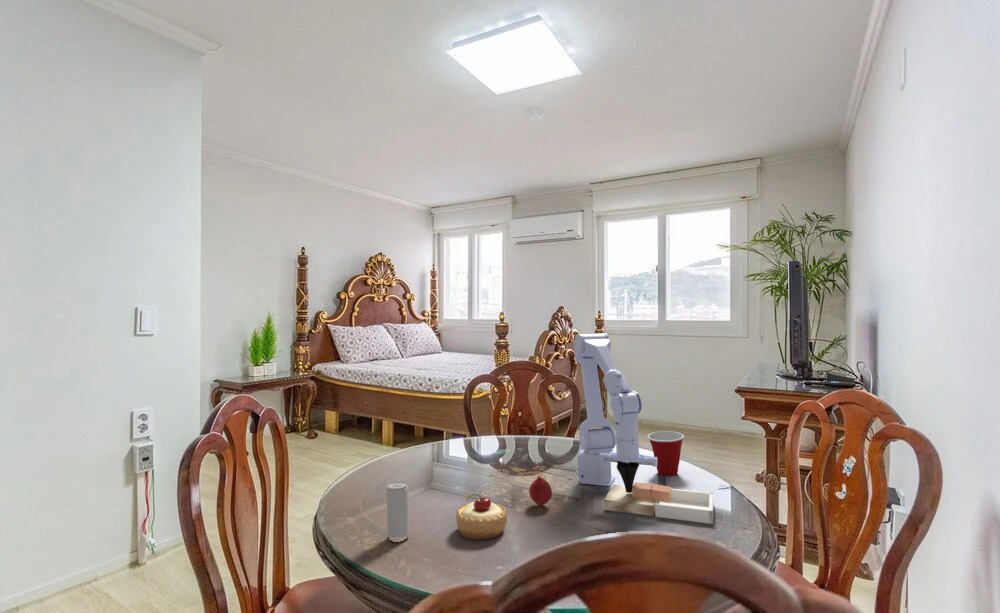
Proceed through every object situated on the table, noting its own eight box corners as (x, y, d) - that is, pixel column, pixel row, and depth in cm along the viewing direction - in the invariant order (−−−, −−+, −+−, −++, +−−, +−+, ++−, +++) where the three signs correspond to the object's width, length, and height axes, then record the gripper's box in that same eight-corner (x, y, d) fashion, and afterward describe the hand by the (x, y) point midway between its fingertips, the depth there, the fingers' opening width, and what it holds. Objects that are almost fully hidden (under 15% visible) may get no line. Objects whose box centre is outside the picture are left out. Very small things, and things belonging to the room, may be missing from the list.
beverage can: (389, 534, 112) (388, 482, 112) (410, 533, 112) (409, 481, 113) (386, 544, 107) (385, 489, 107) (408, 542, 107) (407, 487, 108)
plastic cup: (641, 471, 153) (639, 432, 153) (669, 466, 157) (667, 429, 157) (664, 481, 143) (662, 440, 143) (693, 476, 147) (691, 436, 147)
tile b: (650, 499, 122) (651, 489, 122) (652, 493, 126) (653, 483, 126) (669, 502, 120) (670, 492, 120) (671, 496, 124) (671, 487, 124)
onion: (554, 503, 128) (553, 472, 128) (549, 511, 123) (548, 479, 123) (533, 501, 130) (532, 471, 130) (527, 509, 125) (526, 477, 125)
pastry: (512, 541, 108) (512, 501, 108) (459, 547, 105) (459, 506, 105) (500, 518, 120) (500, 482, 120) (453, 523, 117) (453, 486, 117)
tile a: (632, 497, 124) (632, 487, 124) (635, 491, 128) (634, 482, 128) (650, 499, 122) (650, 489, 122) (652, 493, 126) (652, 484, 126)
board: (604, 509, 123) (604, 499, 123) (613, 493, 134) (613, 484, 134) (654, 516, 118) (653, 505, 118) (659, 499, 129) (658, 489, 129)
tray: (655, 516, 117) (655, 504, 117) (660, 498, 129) (660, 487, 129) (713, 524, 112) (712, 511, 112) (713, 504, 124) (712, 492, 124)
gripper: (596, 440, 126) (598, 493, 125) (654, 444, 120) (656, 500, 119) (602, 434, 132) (603, 484, 132) (657, 438, 126) (659, 490, 126)
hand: (629, 491), depth 126 cm, fingers closed
